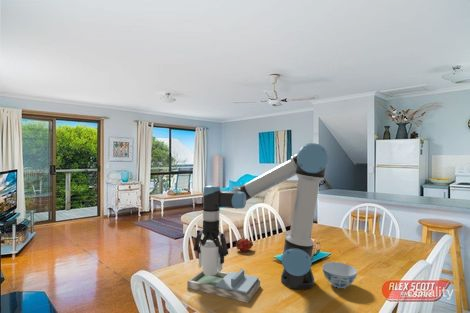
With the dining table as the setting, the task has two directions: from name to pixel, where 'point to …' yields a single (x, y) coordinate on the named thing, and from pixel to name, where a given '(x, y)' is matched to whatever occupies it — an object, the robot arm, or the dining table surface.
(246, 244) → the dragon fruit
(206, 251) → the foam cup
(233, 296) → the grey flat rectangular tray
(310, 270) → the robot arm
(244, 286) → the lid
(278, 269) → the dining table surface
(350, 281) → the chinaware
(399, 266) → the dining table surface
